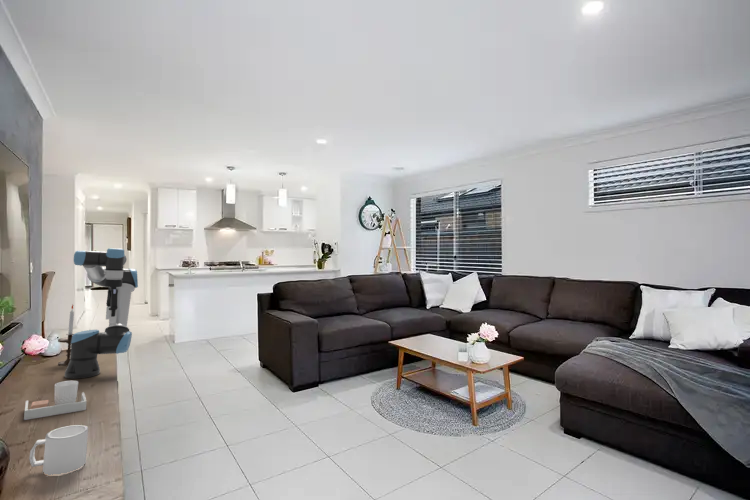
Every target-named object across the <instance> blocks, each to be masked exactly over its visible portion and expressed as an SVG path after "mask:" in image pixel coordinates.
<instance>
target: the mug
mask: <svg viewBox="0 0 750 500" xmlns="http://www.w3.org/2000/svg"><path fill="white" fill-rule="evenodd" d="M88 436H89V427H88V426H87V425H84V424H75V425H74V424H72V425H66V426H62V427H57V428H56V429H52V430H51V431H48V432H47V433H46V434H45V438H44V439H37V440H36V441H35V443H34V445H33V446H32V447H31V449H30V451H29V458H28V459H29V463H30V465H31V468H34V467H39V466H42V473H43V472H44V473H45V474H48V475H51V474H52V475H53V474H61V473H67V472H70V471H73V470H76V469H78V468H80V467H81V466H83V465H84V464H85V463H86V461H87V449H88V448H87V447H88ZM38 445H39V446H40V445H44V453H43V459H41V460H37V459H36V458H35V455H36V453H35V452H36V447H37V446H38ZM85 465H86V464H85Z"/></svg>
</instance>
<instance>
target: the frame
mask: <svg viewBox="0 0 750 500" xmlns="http://www.w3.org/2000/svg"><path fill="white" fill-rule="evenodd" d="M87 403H88V402H87V397H86V394H85V392H81V399H80V401H76V402H75V403H68V404H62V405H55V404H54V405H50V406H49V405H48V407H42V408H35V409H31V408H30V409H29V400H25V406H24V415H23V416H24V417H23V420H24V421H26V420H32V419H38V418H45V417H51V416H57V415H63V414H69V413H74V412H81V411H86V410H87Z"/></svg>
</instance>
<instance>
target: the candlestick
mask: <svg viewBox="0 0 750 500" xmlns="http://www.w3.org/2000/svg"><path fill="white" fill-rule="evenodd" d="M74 316H75V311H74V304H73V303H72V304H71V310H70V312H69V320H68V321H69V322H68V333H66V336H67V337H62V338H61V337H60V338H58V339H57V342H58V343H65V344H67V349H66V350H65V353H66V355H65V356H66V359H65V360H62V361H60V362H59V361H58V363H57V365H58V366H60V365H68V364H69V362H70V354H71V341H72V336H73V335H74V334H75V333H73V330H74V318H75V317H74Z"/></svg>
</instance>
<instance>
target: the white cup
mask: <svg viewBox="0 0 750 500" xmlns="http://www.w3.org/2000/svg"><path fill="white" fill-rule="evenodd" d="M78 389H79V380H64V381H59V382H55V384H54V406H55V405H62V404H68V403H75V402H77V396H78Z"/></svg>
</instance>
